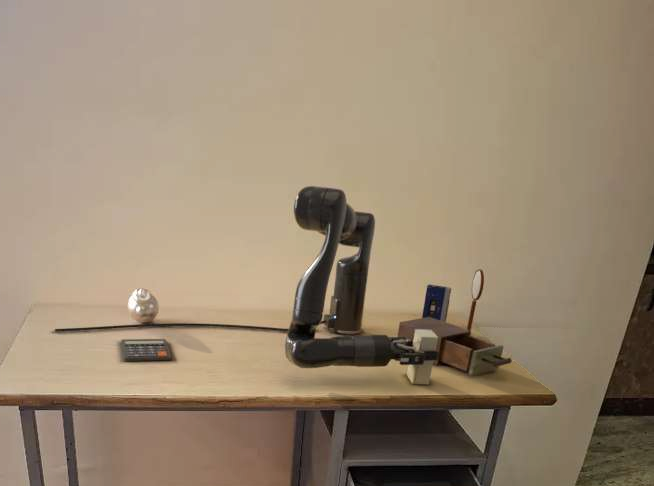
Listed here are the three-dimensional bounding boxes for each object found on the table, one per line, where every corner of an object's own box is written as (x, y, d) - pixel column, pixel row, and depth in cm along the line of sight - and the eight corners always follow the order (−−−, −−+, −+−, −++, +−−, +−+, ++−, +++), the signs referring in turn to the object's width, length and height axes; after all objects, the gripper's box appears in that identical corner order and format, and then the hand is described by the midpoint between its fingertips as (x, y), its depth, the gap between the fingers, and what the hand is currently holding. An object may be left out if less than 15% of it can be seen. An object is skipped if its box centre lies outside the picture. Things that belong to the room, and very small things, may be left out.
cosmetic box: (406, 375, 178) (414, 328, 172) (423, 376, 179) (431, 329, 172) (412, 384, 173) (420, 336, 167) (430, 385, 173) (438, 337, 167)
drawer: (514, 374, 182) (519, 351, 179) (487, 381, 176) (492, 357, 173) (456, 352, 195) (460, 331, 192) (430, 358, 188) (433, 336, 185)
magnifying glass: (473, 342, 207) (487, 273, 197) (467, 342, 207) (481, 272, 197) (466, 333, 214) (479, 266, 204) (460, 333, 214) (474, 266, 204)
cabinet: (465, 358, 193) (471, 331, 189) (436, 365, 187) (441, 337, 183) (424, 343, 203) (429, 316, 200) (395, 349, 197) (399, 322, 193)
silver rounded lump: (122, 325, 201) (120, 289, 196) (135, 316, 209) (134, 282, 204) (152, 328, 199) (151, 293, 194) (164, 320, 207) (163, 285, 202)
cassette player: (420, 323, 221) (427, 284, 215) (422, 321, 223) (428, 283, 217) (443, 327, 219) (450, 288, 213) (445, 325, 221) (452, 286, 215)
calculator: (123, 357, 174) (121, 338, 186) (124, 360, 174) (121, 342, 187) (171, 356, 177) (165, 338, 189) (171, 359, 177) (165, 341, 190)
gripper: (380, 345, 161) (445, 344, 164) (360, 326, 173) (422, 326, 176) (375, 376, 164) (440, 374, 168) (356, 356, 176) (417, 355, 180)
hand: (430, 350), depth 172 cm, fingers open, 7 cm apart
